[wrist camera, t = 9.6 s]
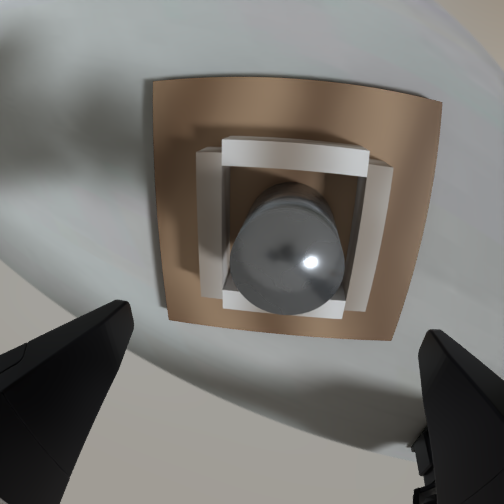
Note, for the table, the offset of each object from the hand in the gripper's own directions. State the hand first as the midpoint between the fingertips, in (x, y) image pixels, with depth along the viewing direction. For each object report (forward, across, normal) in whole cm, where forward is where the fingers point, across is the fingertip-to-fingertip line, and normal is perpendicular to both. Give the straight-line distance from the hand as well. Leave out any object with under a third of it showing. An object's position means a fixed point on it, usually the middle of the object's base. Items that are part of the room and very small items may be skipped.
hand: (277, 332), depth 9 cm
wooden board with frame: (+10, 0, 0) cm, 10 cm away
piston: (+9, 0, 0) cm, 9 cm away
